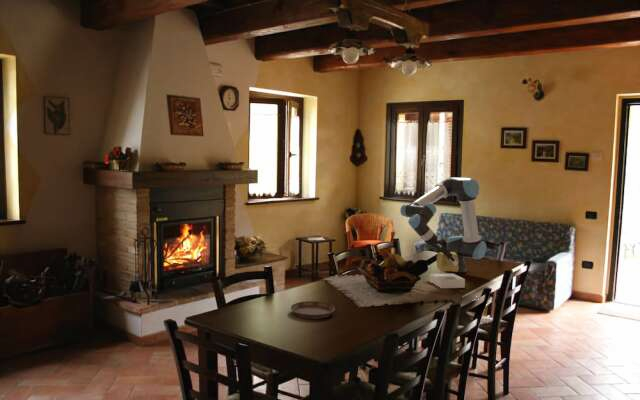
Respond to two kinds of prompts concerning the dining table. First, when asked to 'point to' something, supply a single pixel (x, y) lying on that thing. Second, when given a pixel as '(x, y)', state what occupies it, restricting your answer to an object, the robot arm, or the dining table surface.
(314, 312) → the plant saucer
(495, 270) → the dining table surface
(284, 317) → the dining table surface
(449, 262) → the cheese
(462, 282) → the stand
